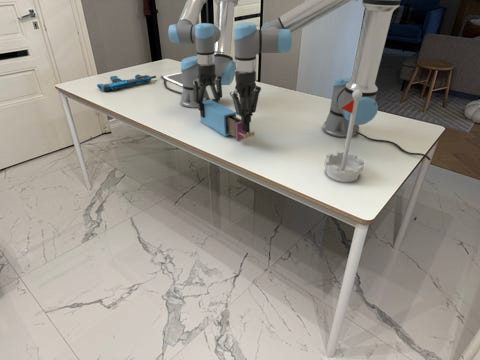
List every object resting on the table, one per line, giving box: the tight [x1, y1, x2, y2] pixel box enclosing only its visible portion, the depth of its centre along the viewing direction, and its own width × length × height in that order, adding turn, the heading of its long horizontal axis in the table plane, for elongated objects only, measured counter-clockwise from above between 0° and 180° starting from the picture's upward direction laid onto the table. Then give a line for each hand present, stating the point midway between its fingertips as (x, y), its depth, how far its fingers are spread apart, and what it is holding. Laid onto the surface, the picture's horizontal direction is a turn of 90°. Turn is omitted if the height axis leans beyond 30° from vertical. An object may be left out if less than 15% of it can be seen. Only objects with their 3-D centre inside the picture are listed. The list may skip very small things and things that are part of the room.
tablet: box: [160, 72, 183, 88], centre depth 213 cm, size 32×20×1 cm, turn 41°
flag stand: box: [323, 90, 365, 183], centre depth 111 cm, size 13×13×30 cm
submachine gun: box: [96, 74, 157, 92], centre depth 207 cm, size 34×4×25 cm
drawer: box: [226, 115, 255, 141], centre depth 142 cm, size 25×5×8 cm, turn 34°
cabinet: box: [200, 99, 237, 137], centre depth 150 cm, size 21×6×9 cm, turn 34°
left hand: (209, 114), depth 156 cm, fingers closed on cabinet, 6 cm apart
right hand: (246, 130), depth 135 cm, fingers closed
